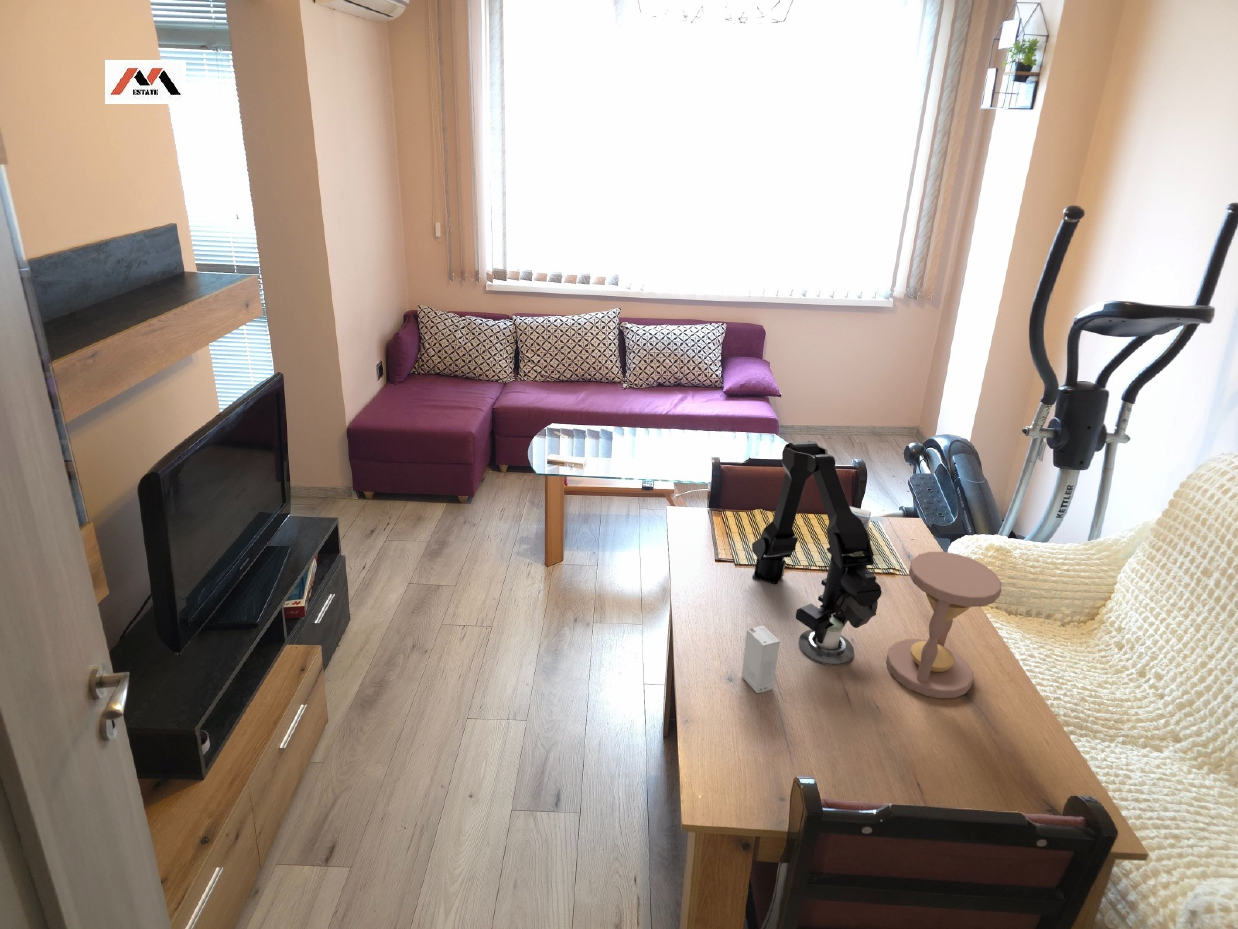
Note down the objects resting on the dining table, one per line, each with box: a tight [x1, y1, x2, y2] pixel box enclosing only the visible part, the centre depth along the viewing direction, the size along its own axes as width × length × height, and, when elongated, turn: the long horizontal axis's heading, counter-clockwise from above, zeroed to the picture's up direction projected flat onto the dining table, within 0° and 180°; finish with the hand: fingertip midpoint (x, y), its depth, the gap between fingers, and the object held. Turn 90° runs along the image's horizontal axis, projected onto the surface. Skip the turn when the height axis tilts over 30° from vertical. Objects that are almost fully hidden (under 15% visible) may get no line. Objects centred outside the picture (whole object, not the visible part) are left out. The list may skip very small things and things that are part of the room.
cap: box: [815, 617, 844, 650], centre depth 177 cm, size 5×5×6 cm
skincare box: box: [741, 625, 781, 694], centre depth 164 cm, size 6×4×12 cm
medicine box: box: [850, 506, 872, 530], centre depth 223 cm, size 8×4×9 cm, turn 65°
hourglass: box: [885, 551, 1002, 700], centre depth 168 cm, size 18×18×25 cm
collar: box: [798, 629, 855, 666], centre depth 178 cm, size 12×12×2 cm
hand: (827, 639), depth 178 cm, fingers closed on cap, 5 cm apart
